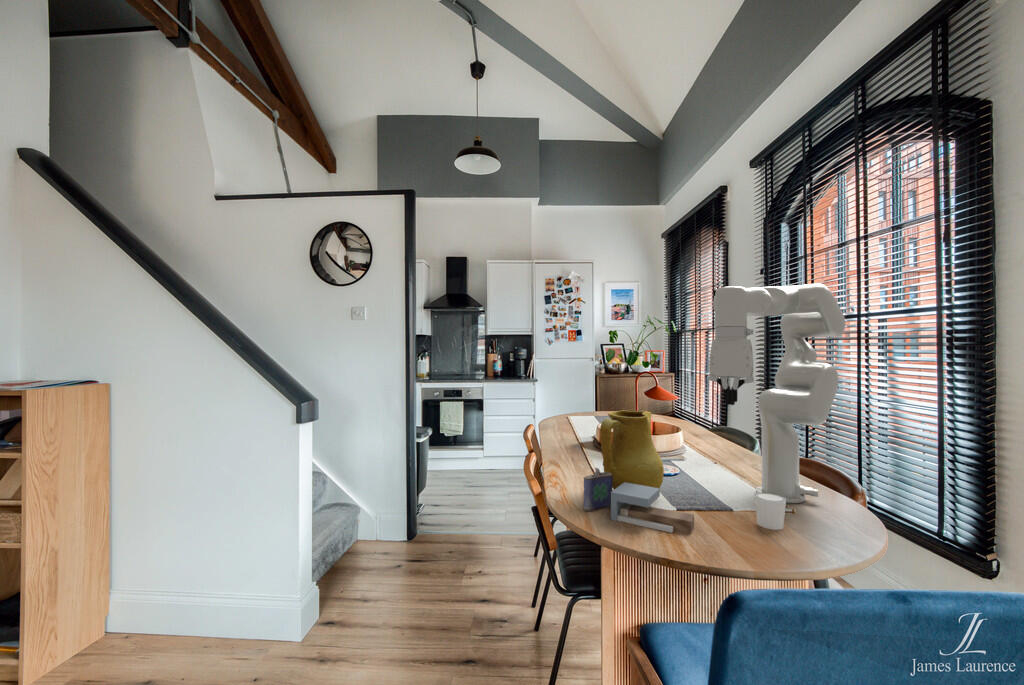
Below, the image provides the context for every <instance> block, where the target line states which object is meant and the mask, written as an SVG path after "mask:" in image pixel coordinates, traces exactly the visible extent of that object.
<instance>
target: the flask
mask: <svg viewBox="0 0 1024 685" xmlns="http://www.w3.org/2000/svg"><path fill="white" fill-rule="evenodd" d="M593 470H594V471H595V472H594V474H590V475H589V474H588V475H586V476H584V477H583V511H585V512H587V513H588V512H594V511H600V510H602V509H610V508H611V492H612V491H613V488H612V486H613V485H612V484H613V475H612V474H611V473H607V472H604V471H603V472H601V470H600V468H599V467H595V468H594V469H593Z"/></svg>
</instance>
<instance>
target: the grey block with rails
mask: <svg viewBox="0 0 1024 685" xmlns="http://www.w3.org/2000/svg"><path fill="white" fill-rule="evenodd" d="M660 491H661V487H660V488H654V487H648V486H643V485H637V484H632V483H626V482H624V483H623V484H621V485H620V486H619V487H617V488H616V489H615V490H613V489H612V492H611V507H610V520H611V521H615V522H617V521H618V522H623V523H627V524H631V525H636V526H640V527H645V528H648V529H649V528H650V529H652V530H658V531H663V532H667V533H671V534H673V533H674V530H673V526H669V525H665V524H660V523H655V522H651V521H646V520H642V519H637V518H633V517H628V516H624V515H620V508H621V506H622V505H623V504H624V503H628V504H633V505H638V506H643V507H648V508H649V507H651V506H652V504H654V503H655V502H656V501H657V499H658V498H660V496H661V494H660Z"/></svg>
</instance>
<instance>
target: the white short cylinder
mask: <svg viewBox="0 0 1024 685" xmlns="http://www.w3.org/2000/svg"><path fill="white" fill-rule="evenodd" d="M754 503H755V505H754V506H755V514H756V515H755V516H756V523H757V525H758V526H759V527H762V528H764V529H767V530H775V531H778V530H783V529H784V524H785V514H786V504H787V503H786V499H785V498H784V497H782V496H779V495H775V494H770V493H757V494H756V493H755V494H754Z"/></svg>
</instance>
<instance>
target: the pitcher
mask: <svg viewBox="0 0 1024 685" xmlns="http://www.w3.org/2000/svg"><path fill="white" fill-rule="evenodd" d="M607 415H608V418H604V420H602V421H601V424H600V428H599V429H600V436H599V438H600V449H601V454H602V455H601V456H602V466H603V472H607V473H611V474H612V475H613V484H612V485H613V486H612V491H613V490H615V489H616V488H617V487H619V486H620V485H621V484H623V483H624V482H626V483H632V484H637V485H643V486H648V487H654V488H660V489H661V486H662V485H663V484H662V483H663V482H664V481H663V480H664V471H665V470H664V462H663V460H662V458H661V456H660V454H659V453H658V451H657V449H656V447H655V444H654V440H653V436H652V423H651V422H652V412H651V411H646V410H626V409H621V410H616V411H609V412H608V413H607ZM611 435H612V436H611ZM611 439H612V440H611Z"/></svg>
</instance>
